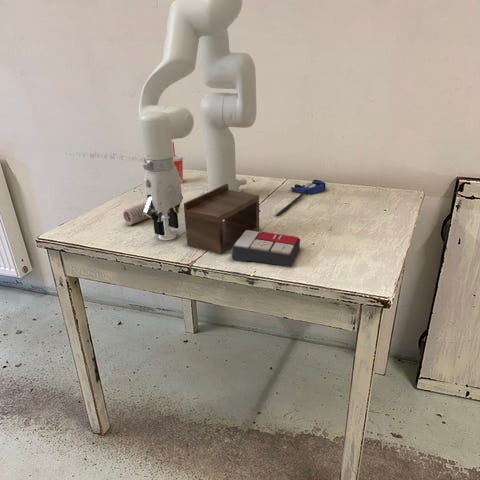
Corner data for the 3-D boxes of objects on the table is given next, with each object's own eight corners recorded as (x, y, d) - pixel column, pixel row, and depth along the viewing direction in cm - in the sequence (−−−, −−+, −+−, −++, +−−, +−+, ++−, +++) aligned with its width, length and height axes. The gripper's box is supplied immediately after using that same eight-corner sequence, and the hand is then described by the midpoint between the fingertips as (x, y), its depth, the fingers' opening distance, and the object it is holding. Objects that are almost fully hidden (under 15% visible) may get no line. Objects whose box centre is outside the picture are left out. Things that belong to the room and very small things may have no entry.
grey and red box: (291, 253, 115) (231, 243, 118) (290, 269, 117) (231, 259, 121) (300, 235, 123) (244, 227, 127) (299, 251, 126) (244, 242, 129)
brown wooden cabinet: (227, 222, 142) (226, 183, 136) (259, 229, 137) (259, 189, 131) (187, 245, 129) (183, 203, 123) (220, 254, 124) (218, 210, 118)
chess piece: (179, 234, 136) (176, 199, 130) (171, 241, 132) (167, 205, 126) (163, 232, 137) (159, 198, 132) (155, 239, 133) (151, 203, 128)
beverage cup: (184, 184, 176) (180, 144, 168) (167, 184, 176) (163, 144, 168) (185, 179, 181) (182, 140, 173) (169, 179, 181) (165, 140, 173)
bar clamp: (301, 177, 171) (328, 180, 166) (301, 183, 172) (328, 187, 168) (260, 208, 148) (290, 213, 144) (260, 216, 149) (290, 221, 145)
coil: (130, 213, 138) (174, 196, 150) (119, 208, 141) (163, 192, 153) (132, 228, 141) (174, 210, 153) (121, 223, 143) (164, 206, 155)
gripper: (147, 174, 116) (156, 244, 126) (191, 158, 128) (196, 223, 138) (124, 170, 120) (135, 238, 129) (170, 155, 131) (176, 218, 141)
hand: (166, 230), depth 133 cm, fingers open, 5 cm apart
